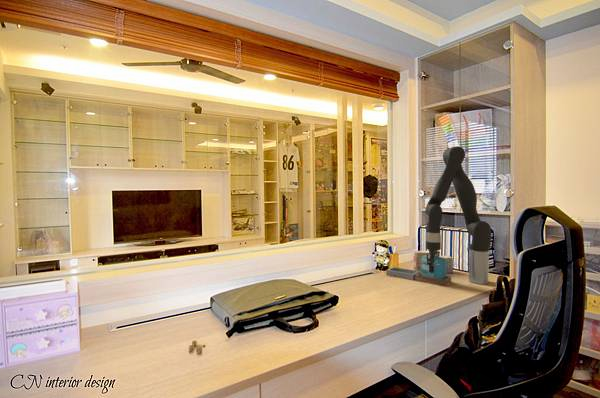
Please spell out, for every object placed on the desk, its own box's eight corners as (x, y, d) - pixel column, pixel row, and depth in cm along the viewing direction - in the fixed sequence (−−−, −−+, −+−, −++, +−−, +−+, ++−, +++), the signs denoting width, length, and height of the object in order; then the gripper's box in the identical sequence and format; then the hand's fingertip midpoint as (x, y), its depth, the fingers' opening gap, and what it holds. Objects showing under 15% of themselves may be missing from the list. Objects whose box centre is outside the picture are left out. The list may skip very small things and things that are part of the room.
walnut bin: (421, 276, 181) (421, 271, 181) (451, 282, 171) (451, 276, 171) (414, 280, 174) (415, 275, 174) (445, 286, 163) (445, 280, 163)
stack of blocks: (449, 270, 195) (449, 250, 195) (452, 273, 189) (453, 253, 188) (413, 269, 197) (413, 250, 197) (416, 272, 191) (416, 252, 191)
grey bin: (393, 271, 193) (393, 266, 192) (419, 276, 182) (420, 271, 182) (386, 275, 185) (386, 270, 185) (413, 280, 174) (413, 274, 174)
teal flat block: (420, 276, 176) (420, 255, 175) (425, 275, 178) (425, 254, 178) (441, 281, 166) (441, 259, 166) (445, 280, 169) (446, 258, 168)
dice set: (200, 355, 97) (200, 349, 97) (185, 353, 98) (185, 347, 98) (208, 347, 102) (208, 341, 102) (193, 345, 103) (193, 339, 103)
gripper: (436, 243, 164) (435, 275, 164) (444, 239, 175) (444, 270, 175) (421, 241, 169) (421, 273, 169) (430, 238, 179) (430, 268, 180)
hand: (433, 271), depth 172 cm, fingers closed on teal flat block, 5 cm apart
